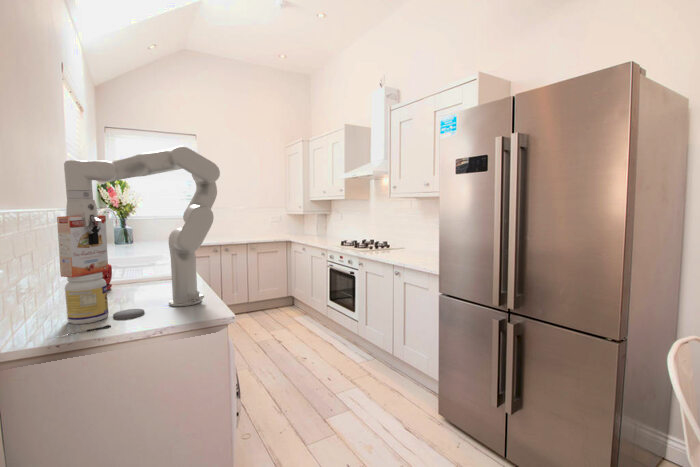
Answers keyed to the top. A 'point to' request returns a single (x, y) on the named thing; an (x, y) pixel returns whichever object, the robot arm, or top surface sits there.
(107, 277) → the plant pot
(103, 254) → the cracker box
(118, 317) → the coaster
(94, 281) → the supplement tub
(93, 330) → the chef's knife
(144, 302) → the top surface
